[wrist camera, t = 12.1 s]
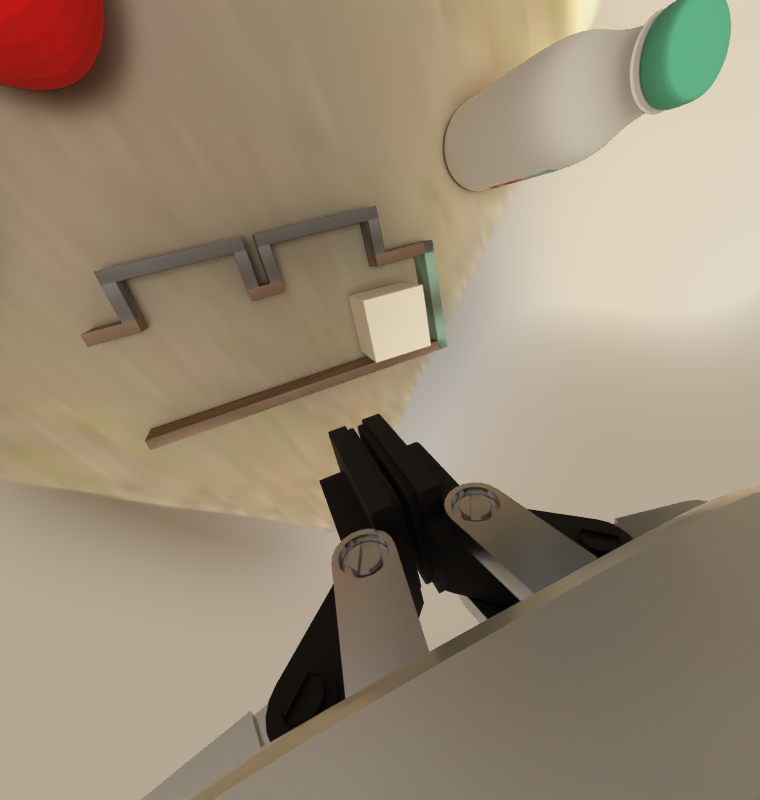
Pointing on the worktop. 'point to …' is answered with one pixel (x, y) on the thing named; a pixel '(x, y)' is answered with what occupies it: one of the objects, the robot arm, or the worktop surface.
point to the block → (391, 320)
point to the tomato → (48, 41)
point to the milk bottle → (585, 94)
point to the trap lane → (244, 407)
